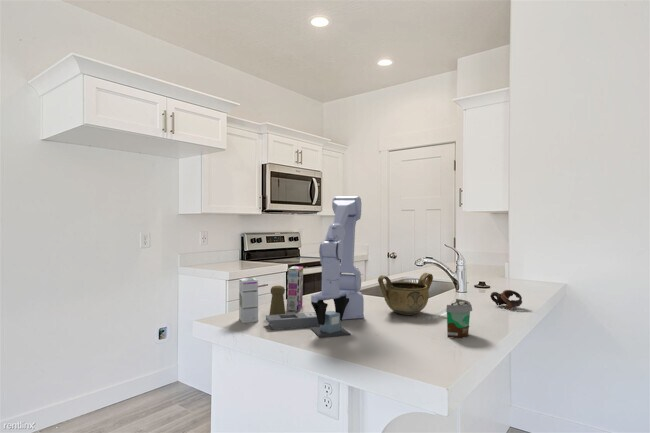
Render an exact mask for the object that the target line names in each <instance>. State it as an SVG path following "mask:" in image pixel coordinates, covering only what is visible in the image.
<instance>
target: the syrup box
mask: <svg viewBox="0 0 650 433" xmlns="http://www.w3.org/2000/svg"><path fill="white" fill-rule="evenodd" d="M238 280H239V282H238V283H239V286H238V289H239V293H238V295H239V298H238V300H239V301H238V303H239V305H238V309H239V311H238V312H239V313H238V314H239V318H238V320H239V321H240V322H241V323H242V324H248V323H249V324H250V323H258V322H259V280H257V278H254V277H246V278H245V277H244V278H239V279H238Z"/></svg>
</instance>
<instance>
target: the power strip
mask: <svg viewBox="0 0 650 433" xmlns="http://www.w3.org/2000/svg"><path fill="white" fill-rule="evenodd" d="M327 311H328V310H326V312H327ZM332 311H333V310H332ZM333 312H335V310H334V311H333ZM265 320H266V322H267V323H268V325H269V327H270V329H271V330H287V329H300V328H313V327H320V324H318V319H317V315H316V312H315V311H314V312H301V313H300V312H299V313H298V312H295V313H285V314H280V315H269V314H268V315H267V314H266V315H265Z"/></svg>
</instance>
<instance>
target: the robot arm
mask: <svg viewBox="0 0 650 433" xmlns="http://www.w3.org/2000/svg"><path fill="white" fill-rule="evenodd" d="M331 202H332V204H331V206H332V211H333V214H334V217H333V224H330V225H329V226H328V229H327V232H326V235H325V239H324V240H323V241H322V242H321V243H320V244H319V247H318V250H319V251H318V253H319V254H318V255H319V258H320V262H319V263H320V265H321V291H320V292H319V293H316V294H312V295H311V296H310V297H311V298H310V302H311V306H312V308H313V310H314V312H316V315H317V319H318V324H320V325H324V324H325V313H326V311H327V308H328V306H329V304H328V303H326V302H325V301H328V300H329V301H330V300H333V303H334V309H335V310H334V312H337V313H340V322H342V320H352V319H353V320H355V319H365V316H364V310H365V308H364V304H365V303H364V300H365V299H364V295H363V294H362V292H360V291H361V287H362V276H361V275H362V273H361V270H360V269H359V268H358V267H356V266H355V263H354V261H355V239H356V237H355V236H356V224H357V221H359V220H361V217H362V198H361V197H360V196H359V195H356V196H352V195H351V196H337V195H335V196H334V197H333V199H332V201H331Z"/></svg>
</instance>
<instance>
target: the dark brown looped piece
mask: <svg viewBox="0 0 650 433" xmlns="http://www.w3.org/2000/svg"><path fill="white" fill-rule="evenodd" d="M513 296H515V297H516V298H517V300H515V299H511V300H510V298H511V297H513ZM490 299H491V300H492V302H494V303H495V305H496V306H499V305H500V306H502V305H505V308H504V309H506V310H507V309H510V310H511V309H513V308H518V307H520V306H521V305H522V304H523V301H522V299H523V298H522V295H521V294H520V293H519V292H517V291H515V290H511V289H505V290H504V291H502V292H501V293H500V292H497V291H493V292H491V293H490Z"/></svg>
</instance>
